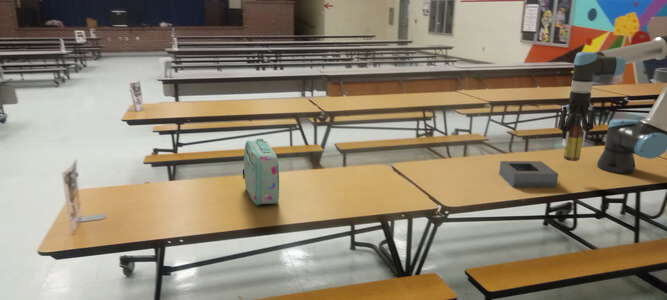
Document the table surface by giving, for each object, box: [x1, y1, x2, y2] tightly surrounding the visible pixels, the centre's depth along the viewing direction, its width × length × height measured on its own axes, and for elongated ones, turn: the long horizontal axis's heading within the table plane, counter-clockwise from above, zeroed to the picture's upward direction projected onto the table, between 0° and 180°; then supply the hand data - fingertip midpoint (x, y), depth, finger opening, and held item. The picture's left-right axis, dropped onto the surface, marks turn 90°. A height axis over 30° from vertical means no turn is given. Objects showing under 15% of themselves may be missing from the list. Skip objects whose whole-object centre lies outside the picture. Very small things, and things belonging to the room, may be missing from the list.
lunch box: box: [242, 138, 280, 206], centre depth 179 cm, size 27×10×21 cm, turn 21°
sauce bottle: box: [563, 113, 583, 162], centre depth 195 cm, size 7×6×20 cm
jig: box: [498, 160, 559, 189], centre depth 199 cm, size 18×16×6 cm
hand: (572, 145), depth 196 cm, fingers closed on sauce bottle, 6 cm apart
